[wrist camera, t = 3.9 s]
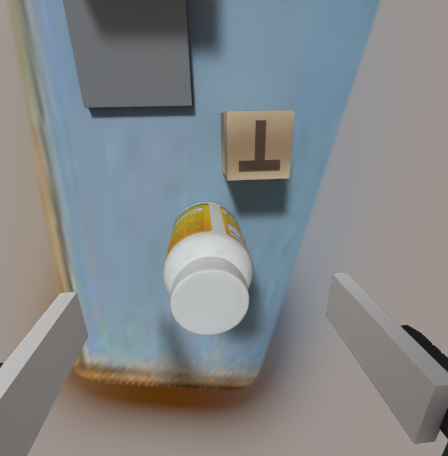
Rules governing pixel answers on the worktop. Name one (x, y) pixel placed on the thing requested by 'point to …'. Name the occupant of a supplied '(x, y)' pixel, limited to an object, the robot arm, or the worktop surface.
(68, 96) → the worktop surface
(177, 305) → the supplement bottle
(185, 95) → the slate coaster
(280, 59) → the worktop surface
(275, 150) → the letter cube
